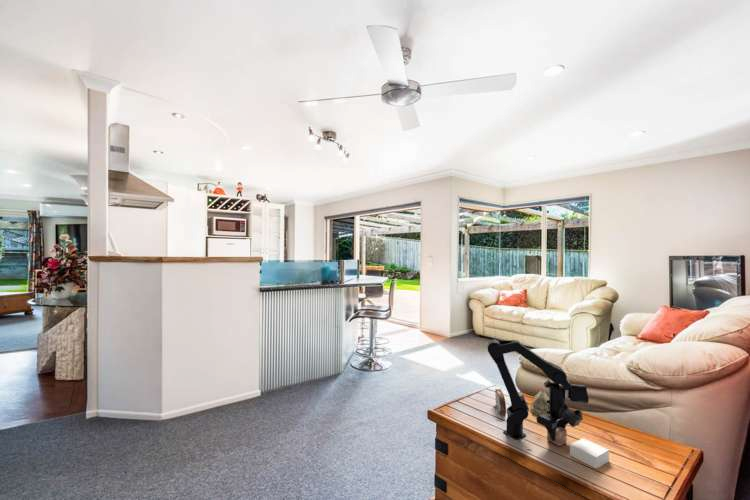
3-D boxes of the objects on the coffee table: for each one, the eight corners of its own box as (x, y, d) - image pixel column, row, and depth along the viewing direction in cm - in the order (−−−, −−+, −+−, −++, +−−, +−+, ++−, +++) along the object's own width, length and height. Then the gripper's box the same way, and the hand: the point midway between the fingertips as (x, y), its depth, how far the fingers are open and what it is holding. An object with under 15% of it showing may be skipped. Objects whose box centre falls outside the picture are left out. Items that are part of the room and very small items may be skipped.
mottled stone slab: (506, 417, 150) (506, 398, 150) (499, 416, 151) (499, 398, 151) (500, 403, 165) (500, 386, 165) (494, 402, 165) (494, 386, 166)
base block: (596, 468, 114) (596, 457, 114) (569, 455, 121) (570, 444, 121) (608, 461, 118) (608, 449, 118) (582, 448, 126) (582, 438, 126)
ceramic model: (531, 402, 167) (531, 382, 167) (556, 408, 161) (556, 388, 161) (527, 413, 155) (527, 391, 155) (554, 419, 149) (554, 397, 149)
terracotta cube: (559, 446, 127) (559, 433, 127) (547, 439, 131) (547, 427, 131) (566, 442, 129) (566, 429, 129) (554, 436, 133) (554, 424, 134)
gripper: (564, 412, 119) (564, 456, 118) (590, 402, 128) (590, 442, 128) (536, 400, 128) (535, 441, 128) (562, 392, 138) (562, 429, 138)
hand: (556, 438), depth 130 cm, fingers closed on terracotta cube, 5 cm apart
